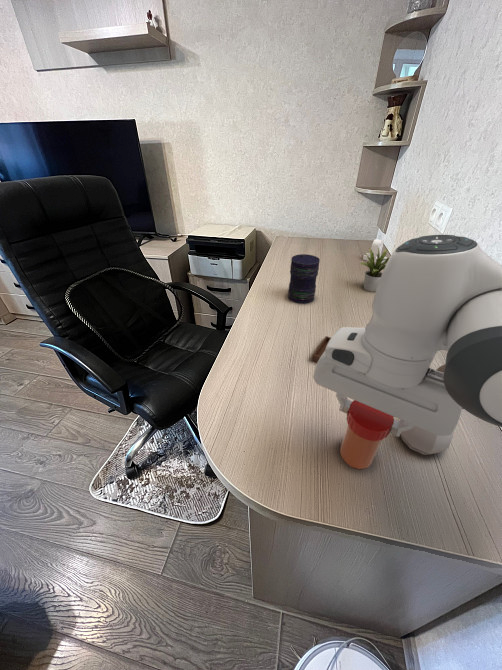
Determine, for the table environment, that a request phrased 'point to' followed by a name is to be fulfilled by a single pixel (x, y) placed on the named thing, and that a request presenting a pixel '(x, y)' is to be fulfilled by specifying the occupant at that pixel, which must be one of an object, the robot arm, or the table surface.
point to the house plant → (374, 270)
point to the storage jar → (303, 278)
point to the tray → (320, 349)
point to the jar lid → (369, 422)
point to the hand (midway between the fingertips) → (368, 420)
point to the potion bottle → (425, 441)
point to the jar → (358, 450)
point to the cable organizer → (375, 250)
